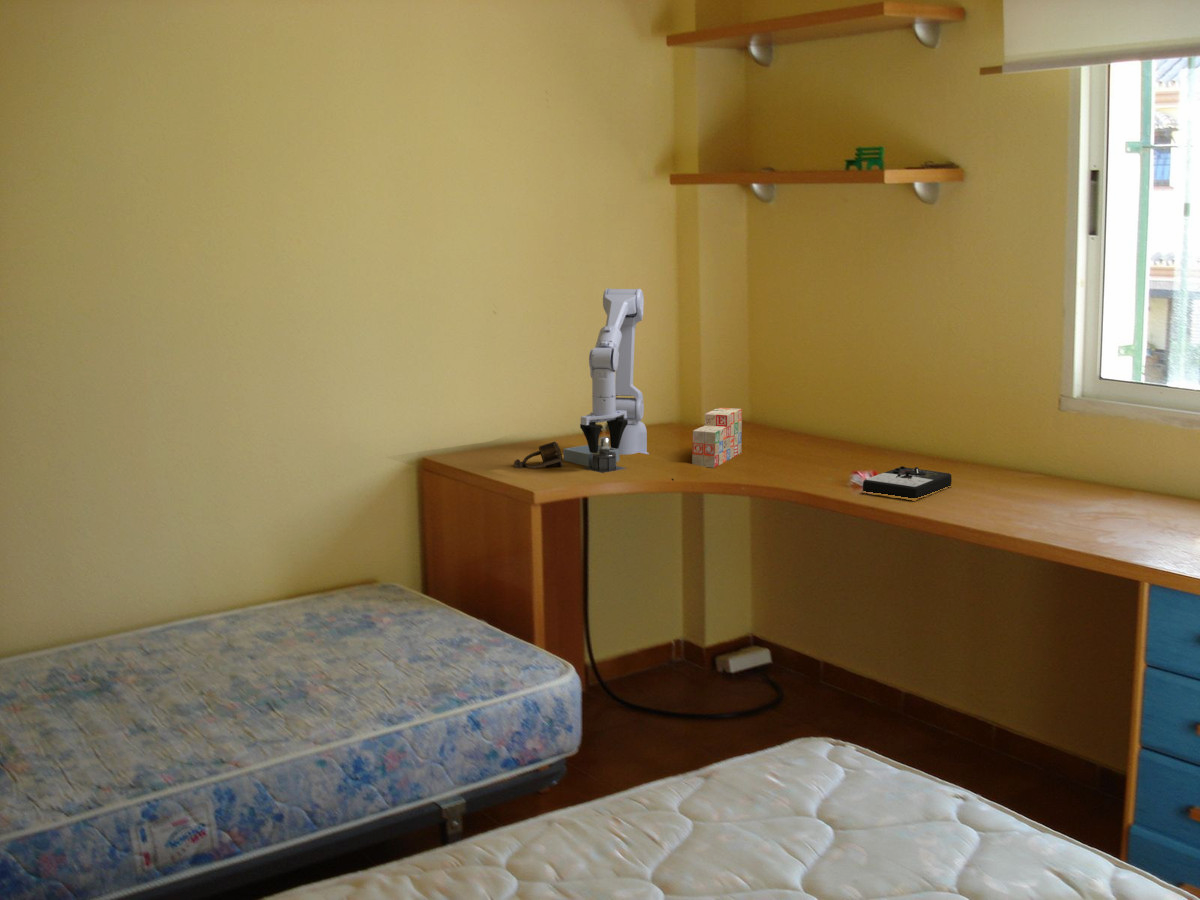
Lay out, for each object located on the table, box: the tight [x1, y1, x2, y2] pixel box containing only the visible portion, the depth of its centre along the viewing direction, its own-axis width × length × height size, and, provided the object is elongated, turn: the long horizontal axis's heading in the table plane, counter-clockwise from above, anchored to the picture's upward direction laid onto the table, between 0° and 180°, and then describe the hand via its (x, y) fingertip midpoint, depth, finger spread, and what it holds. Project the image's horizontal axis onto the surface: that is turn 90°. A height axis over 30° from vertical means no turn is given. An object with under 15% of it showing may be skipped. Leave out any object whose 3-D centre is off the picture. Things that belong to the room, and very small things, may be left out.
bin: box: [562, 444, 620, 467], centre depth 316 cm, size 10×10×4 cm
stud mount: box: [583, 465, 628, 474], centre depth 307 cm, size 8×8×4 cm
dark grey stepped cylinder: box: [592, 436, 617, 471], centre depth 306 cm, size 6×6×8 cm
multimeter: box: [862, 465, 952, 498], centre depth 284 cm, size 13×19×5 cm
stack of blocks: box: [691, 407, 743, 468], centre depth 320 cm, size 21×6×12 cm, turn 155°
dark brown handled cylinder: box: [513, 441, 565, 470], centre depth 310 cm, size 7×13×10 cm
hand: (604, 450), depth 306 cm, fingers open, 7 cm apart
